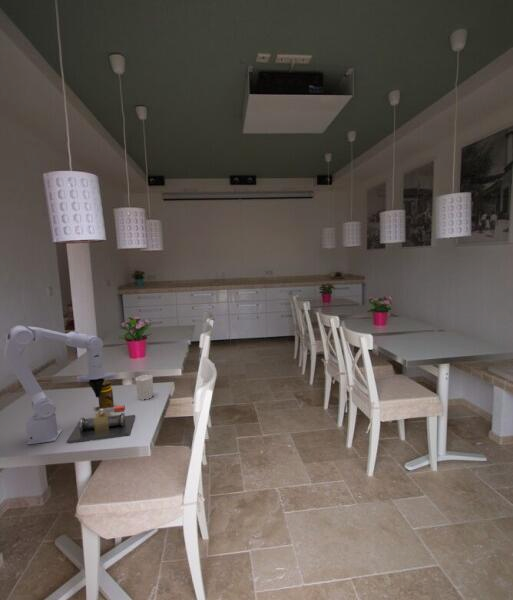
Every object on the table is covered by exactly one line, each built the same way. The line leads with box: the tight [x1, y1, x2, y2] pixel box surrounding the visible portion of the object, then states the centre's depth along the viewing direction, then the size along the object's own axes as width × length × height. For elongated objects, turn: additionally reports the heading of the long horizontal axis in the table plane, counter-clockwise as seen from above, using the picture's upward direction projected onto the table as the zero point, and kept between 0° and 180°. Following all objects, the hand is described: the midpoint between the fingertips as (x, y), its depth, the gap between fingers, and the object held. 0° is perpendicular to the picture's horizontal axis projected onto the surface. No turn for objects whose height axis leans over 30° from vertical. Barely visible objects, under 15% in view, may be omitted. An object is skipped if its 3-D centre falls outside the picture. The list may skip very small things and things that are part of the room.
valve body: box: [66, 412, 136, 444], centre depth 138 cm, size 22×16×7 cm
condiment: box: [93, 380, 115, 415], centre depth 157 cm, size 7×8×12 cm
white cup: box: [134, 374, 154, 401], centre depth 168 cm, size 8×8×10 cm
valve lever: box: [98, 404, 126, 414], centre depth 138 cm, size 10×2×2 cm, turn 100°
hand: (98, 396), depth 145 cm, fingers closed
